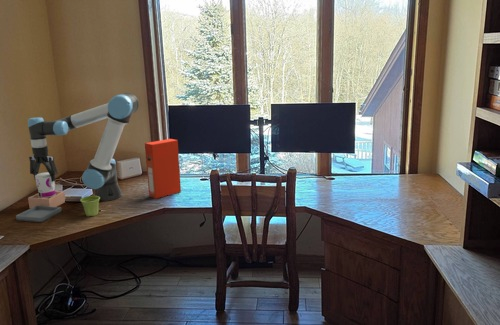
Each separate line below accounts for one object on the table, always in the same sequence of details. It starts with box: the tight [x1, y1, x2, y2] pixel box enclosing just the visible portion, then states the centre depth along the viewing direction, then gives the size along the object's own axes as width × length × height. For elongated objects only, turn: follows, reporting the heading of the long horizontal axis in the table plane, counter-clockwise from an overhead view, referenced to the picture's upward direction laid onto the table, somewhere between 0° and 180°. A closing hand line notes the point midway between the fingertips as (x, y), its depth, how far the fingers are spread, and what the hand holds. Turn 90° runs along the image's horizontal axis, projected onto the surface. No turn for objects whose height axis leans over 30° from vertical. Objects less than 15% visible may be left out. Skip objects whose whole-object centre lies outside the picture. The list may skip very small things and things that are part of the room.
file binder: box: [144, 138, 182, 200], centre depth 239 cm, size 8×17×32 cm, turn 135°
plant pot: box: [80, 195, 100, 217], centre depth 211 cm, size 9×9×9 cm
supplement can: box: [35, 171, 56, 199], centre depth 224 cm, size 8×8×15 cm
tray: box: [15, 206, 63, 223], centre depth 211 cm, size 15×15×2 cm
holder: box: [27, 190, 66, 209], centre depth 226 cm, size 13×13×6 cm
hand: (45, 186), depth 224 cm, fingers closed on supplement can, 8 cm apart
